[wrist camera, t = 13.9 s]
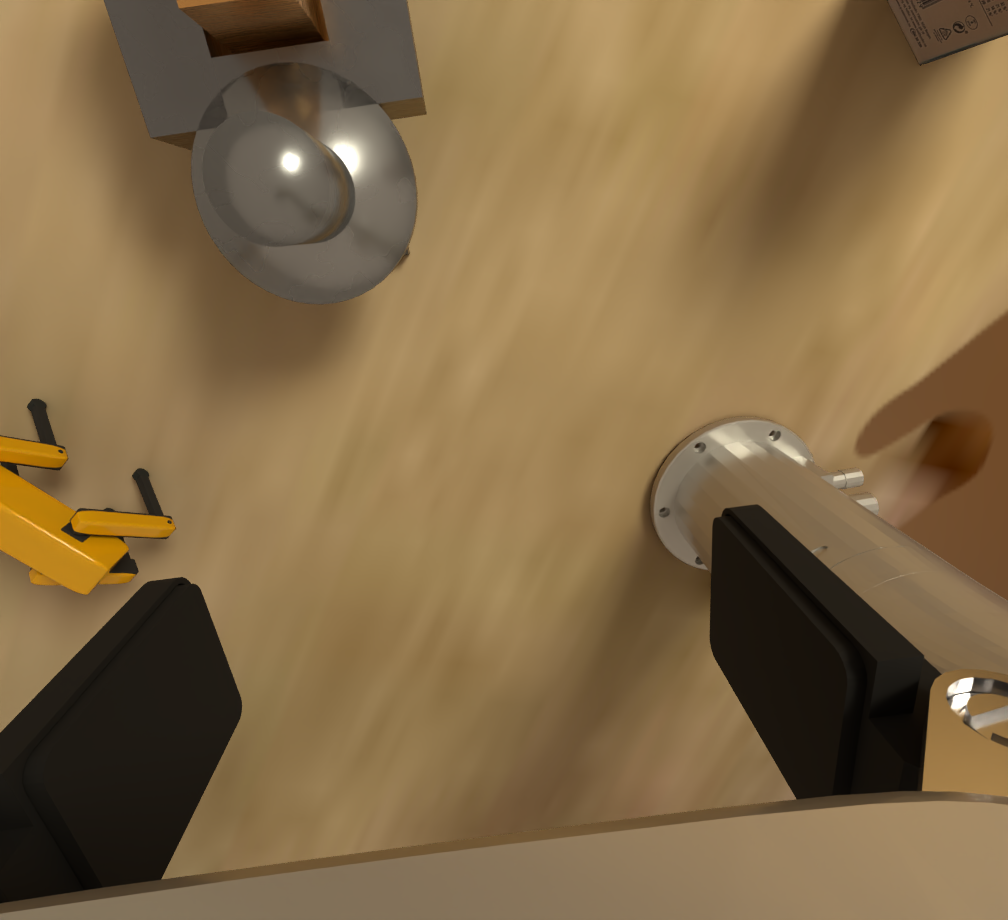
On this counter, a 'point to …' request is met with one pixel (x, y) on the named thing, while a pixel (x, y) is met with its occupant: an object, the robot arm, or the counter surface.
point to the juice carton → (949, 25)
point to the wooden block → (259, 22)
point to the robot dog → (67, 520)
